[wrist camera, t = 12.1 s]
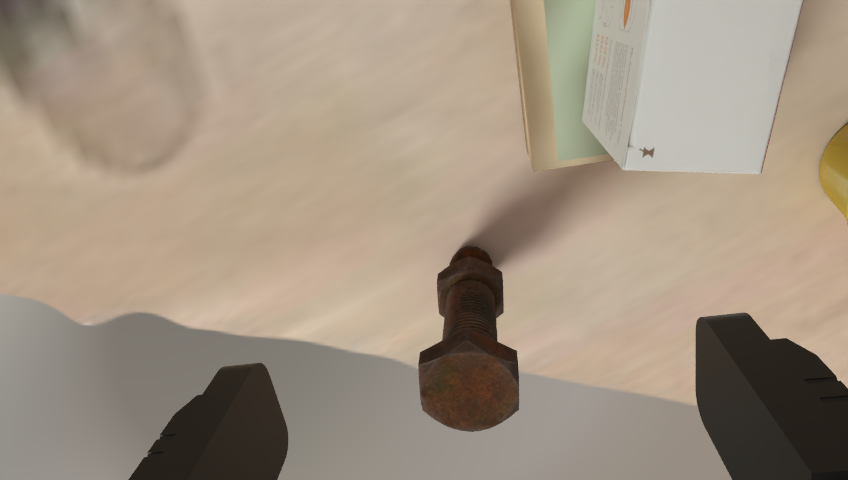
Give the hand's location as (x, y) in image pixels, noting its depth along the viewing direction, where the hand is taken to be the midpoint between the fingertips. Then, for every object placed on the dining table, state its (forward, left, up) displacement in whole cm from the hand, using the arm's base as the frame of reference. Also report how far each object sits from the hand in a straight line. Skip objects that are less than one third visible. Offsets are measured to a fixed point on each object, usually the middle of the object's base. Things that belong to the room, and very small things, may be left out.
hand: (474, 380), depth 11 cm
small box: (-9, -2, -25) cm, 27 cm away
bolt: (+2, +12, -30) cm, 33 cm away
